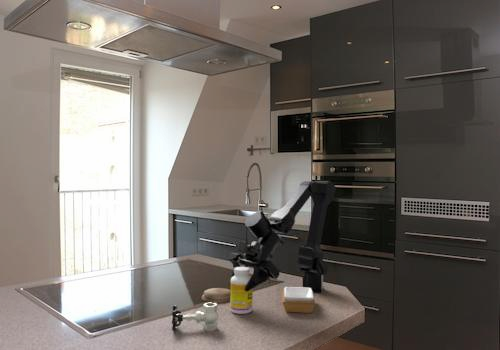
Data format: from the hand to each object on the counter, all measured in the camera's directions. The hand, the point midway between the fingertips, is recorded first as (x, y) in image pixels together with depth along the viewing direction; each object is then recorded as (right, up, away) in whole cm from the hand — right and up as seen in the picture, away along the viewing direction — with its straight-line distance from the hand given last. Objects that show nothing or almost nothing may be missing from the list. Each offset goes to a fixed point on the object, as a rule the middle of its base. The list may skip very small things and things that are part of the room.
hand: (237, 288), depth 123 cm
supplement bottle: (+1, -7, +1) cm, 7 cm away
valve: (-11, -7, -13) cm, 19 cm away
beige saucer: (-7, -7, +14) cm, 17 cm away
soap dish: (+19, -8, +5) cm, 21 cm away
